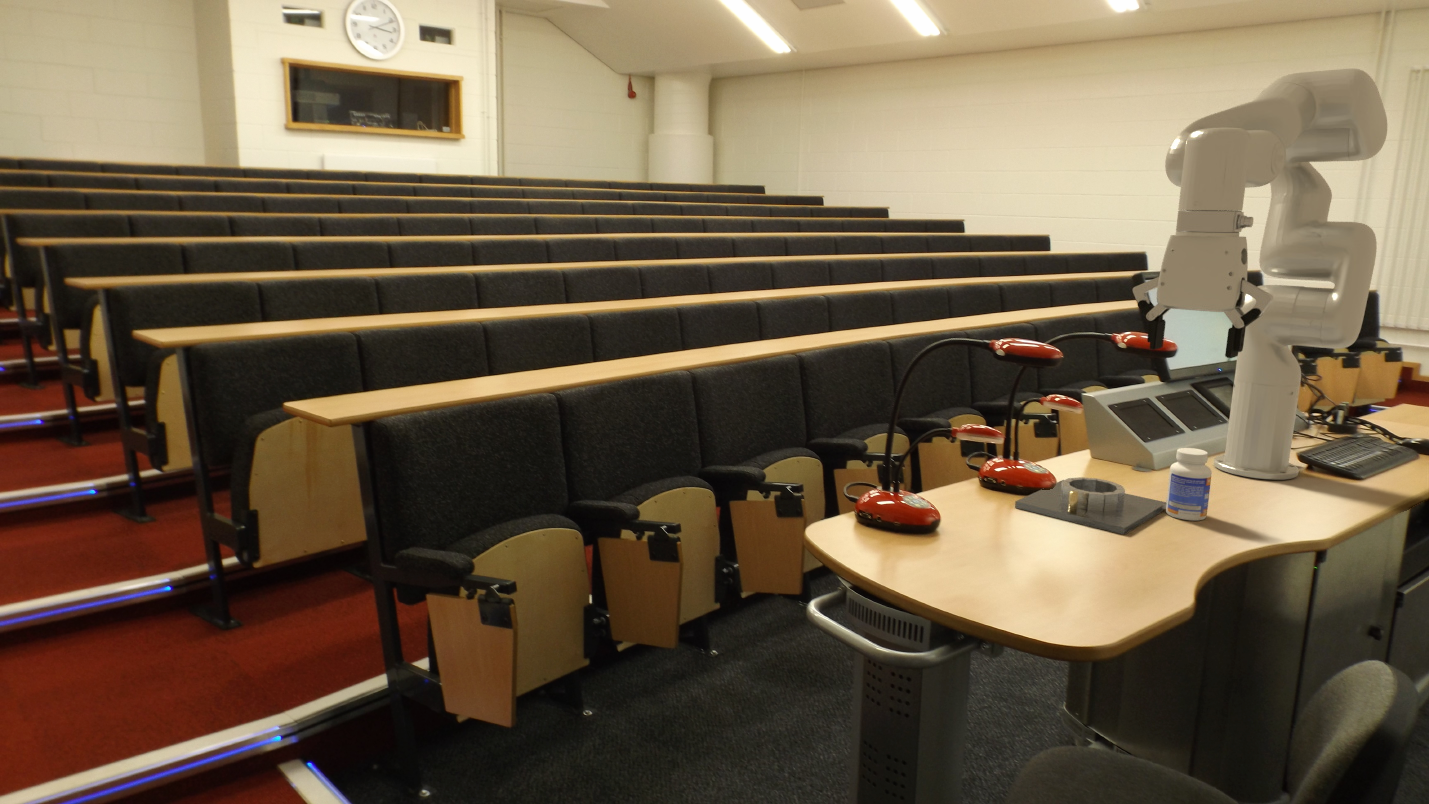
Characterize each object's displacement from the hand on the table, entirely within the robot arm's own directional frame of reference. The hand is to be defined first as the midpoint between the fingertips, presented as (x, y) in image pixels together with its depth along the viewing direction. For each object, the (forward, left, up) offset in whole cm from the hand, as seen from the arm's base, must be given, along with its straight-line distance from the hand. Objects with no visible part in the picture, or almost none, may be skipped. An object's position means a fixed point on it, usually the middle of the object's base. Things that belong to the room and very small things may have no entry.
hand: (1192, 352), depth 125 cm
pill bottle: (-5, 0, -25) cm, 25 cm away
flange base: (+2, -11, -25) cm, 27 cm away
